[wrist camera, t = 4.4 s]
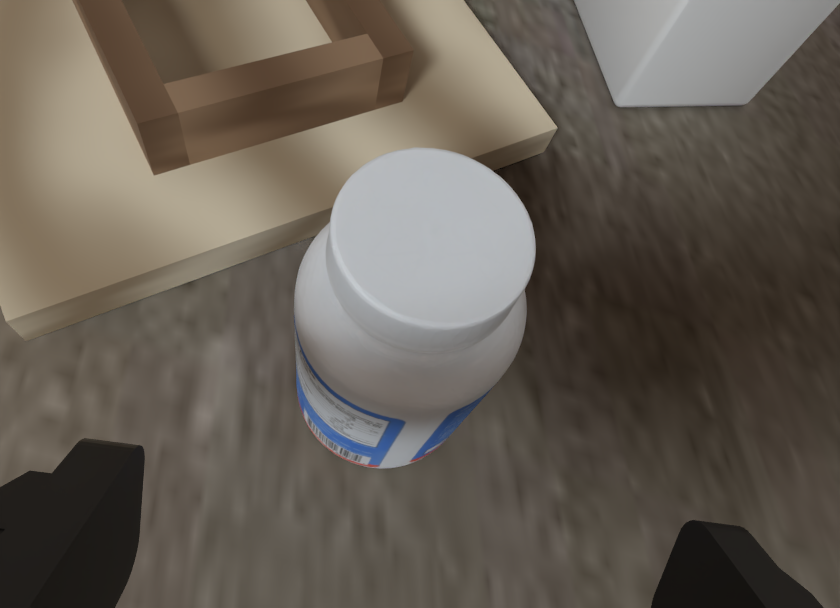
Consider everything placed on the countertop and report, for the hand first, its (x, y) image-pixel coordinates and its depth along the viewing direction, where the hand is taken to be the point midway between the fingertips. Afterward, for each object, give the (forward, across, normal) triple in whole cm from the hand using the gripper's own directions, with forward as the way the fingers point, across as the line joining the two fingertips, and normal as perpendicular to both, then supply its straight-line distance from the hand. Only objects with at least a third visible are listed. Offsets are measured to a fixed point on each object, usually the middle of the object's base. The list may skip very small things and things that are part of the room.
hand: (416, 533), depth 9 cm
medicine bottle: (+24, -11, -10) cm, 29 cm away
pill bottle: (+11, 0, +3) cm, 11 cm away
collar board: (+19, +7, -5) cm, 21 cm away
